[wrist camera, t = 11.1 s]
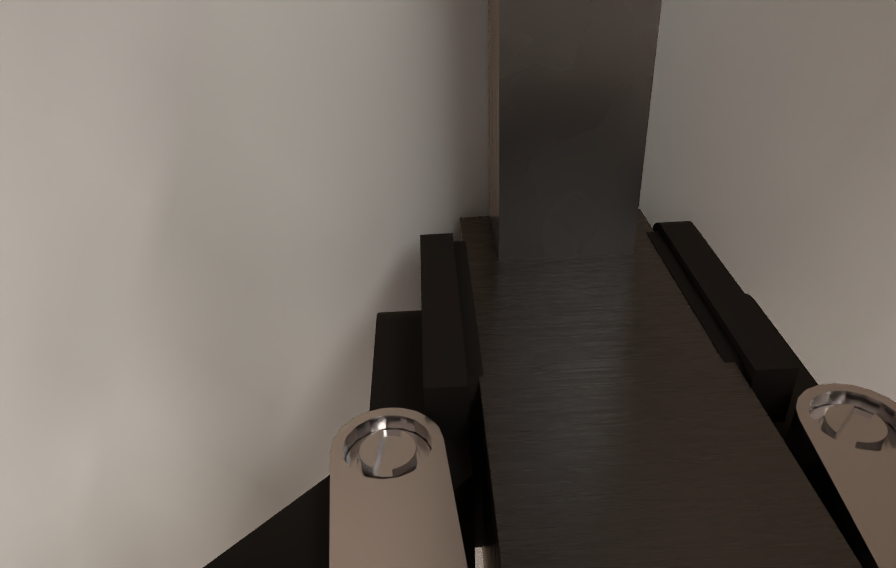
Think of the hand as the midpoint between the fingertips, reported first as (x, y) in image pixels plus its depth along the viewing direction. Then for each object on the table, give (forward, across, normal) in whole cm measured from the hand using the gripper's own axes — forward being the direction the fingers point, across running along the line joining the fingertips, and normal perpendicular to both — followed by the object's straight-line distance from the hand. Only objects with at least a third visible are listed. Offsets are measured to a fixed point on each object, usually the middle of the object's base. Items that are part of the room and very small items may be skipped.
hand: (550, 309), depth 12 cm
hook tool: (+1, +3, -13) cm, 13 cm away
